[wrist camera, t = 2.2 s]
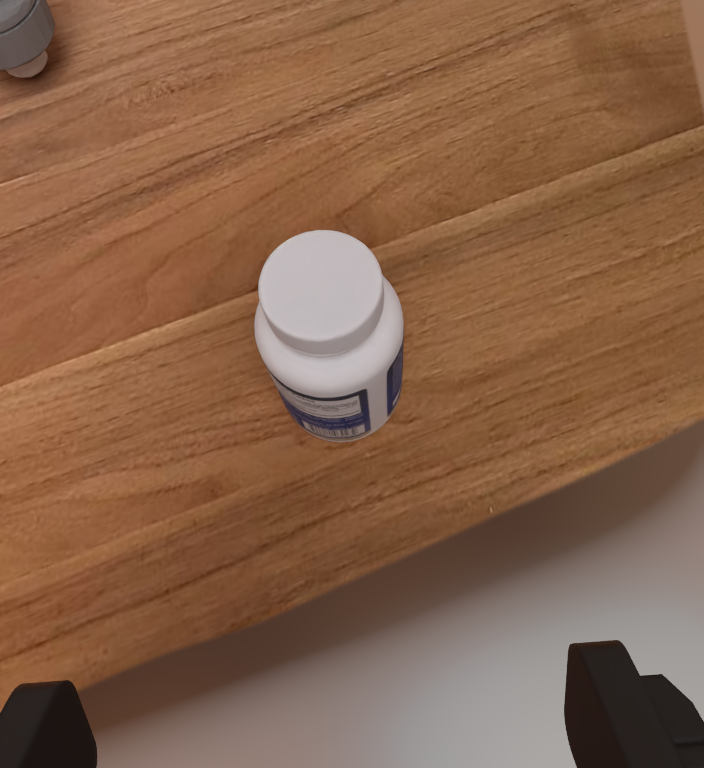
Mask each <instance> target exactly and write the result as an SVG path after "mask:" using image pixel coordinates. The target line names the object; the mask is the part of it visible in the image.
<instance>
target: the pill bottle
mask: <svg viewBox="0 0 704 768" xmlns="http://www.w3.org/2000/svg"><path fill="white" fill-rule="evenodd" d="M258 293H259V300H260V301H259V304H258V307H257V310H256V314H255V322H254V332H255V339H256V344H257V347H258V350H259V352H260V355H261V357H262V359H263V361H264V363H265V365H266V367H267V369H268V372H269V374H270V376H271V378H272V380H273V382H274V384H275V386H276V387H277V389H278V391H279V393H280V396H281V397H282V400H283V402H284V404H285V406H286V408H287V410H288V411H289V413H290V415H291V416H292V418H293V419H294V420H295V422H296V423H297V424H298V425H299V426H300V427H301V428H302V429H304V430H305V431H306V432H308V433H309V434H311V435H313V436H315V437H317V438H320V439H323V440H326V441H331V442H351V441H355V440H359V439H362V438H364V437H366V436H368V435H370V434H372V433H374V432H375V431H377V430H378V429H379V428H381V427H382V426H383V425H384V424H385V423H386V422H387V420H388V419H389V418H390V416H391V415H392V414H393V412H394V410H395V408H396V406H397V404H398V401H399V397H400V393H401V387H402V366H403V340H404V322H403V313H402V308H401V304H400V301H399V298H398V296H397V294H396V292H395V290H394V289H393V287H392V286H391V284H390V283H389V282H388V280H387V279H386V278H385V277H384V276H383V275H382V272H381V269H380V265H379V263H378V261H377V259H376V258H375V256H374V255H373V253H372V252H371V250H370V249H369V248H368V247H367V246H365V245H364V244H363V243H362V242H360V241H359V240H357V239H356V238H354V237H352V236H350V235H348V234H344V233H341V232H337V231H331V230H316V231H309V232H305V233H302V234H299V235H296V236H294V237H292V238H290V239H288V240H287V241H285V242H284V243H282V244H281V245H280V246H278V247H277V248H276V249H275V250H274V251H273V252H272V254H271V255H270V256H269V258H268V259H267V261H266V262H265V264H264V266H263V269H262V271H261V274H260V279H259V283H258Z"/></svg>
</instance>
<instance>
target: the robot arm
mask: <svg viewBox="0 0 704 768" xmlns="http://www.w3.org/2000/svg"><path fill="white" fill-rule="evenodd" d="M564 715H565V725H566V731H567V736H568V741H569V745H570V748H571V751H572V754H573V757H574V760H575V763H576V766H577V768H704V722H703V720H702V718H701V717H700V715H699V713H698V711H697V710H696V708H695V706H694V704H693V703H692V702H691V701H690V700H689V699H688V698H687V697H686V696H685V695H684V694H683V693H682V692H680V691H679V690H678V689H677V688H676V687H675V686H674V685H673V684H672V683H671V682H670V681H669V680H667V678H665V677H664V676H663V675H662V674H659V675H646V676H640V675H639V673H638V671H637V669H636V667H635V665H634V663H633V661H632V659H631V657H630V655H629V653H628V652H627V650H626V648H625V646H624V645H623V644H622V643H621V642H620V641H618V640H613V641H600V642H587V643H574V644H570V646H569V650H568V662H567V676H566V692H565V705H564ZM96 766H97V747H96V742H95V739H94V736H93V734H92V731H91V728H90V726H89V723H88V720H87V718H86V715H85V712H84V710H83V707H82V704H81V702H80V699H79V696H78V694H77V691H76V688H75V686H74V684H73V683H72V682H71V681H68V680H65V681H52V682H39V683H26V684H21V685H19V686H18V687H16V688H15V689H14V691H13V692H12V693H11V695H10V697H9V698H8V700H7V702H6V704H5V706H4V708H3V709H2V711H1V713H0V768H96Z"/></svg>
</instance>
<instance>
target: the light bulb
mask: <svg viewBox="0 0 704 768" xmlns="http://www.w3.org/2000/svg"><path fill="white" fill-rule="evenodd" d="M54 27H55V23H54V20H53V17H52V14H51V11H50V9H49V6H48V4H47V2H46V0H0V70H6V71H7V72H8V73H9V74H10V75H12V76H15V77H21V78H23V77H33V76H35V75H37V74H38V73H39V72H40V71H42V70H43V68H44V66H45V64H46V62H47V57H48V55H47V53H46V51H45V49H46V48H47V47H48V45H49V43H50V41H51V40H52V38H53V33H54Z"/></svg>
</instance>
